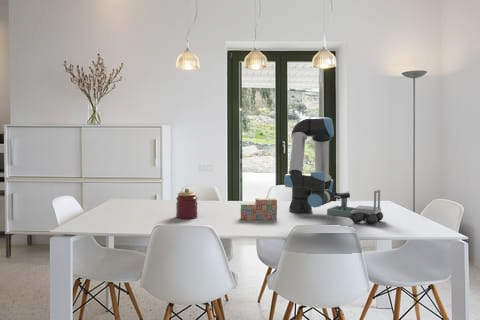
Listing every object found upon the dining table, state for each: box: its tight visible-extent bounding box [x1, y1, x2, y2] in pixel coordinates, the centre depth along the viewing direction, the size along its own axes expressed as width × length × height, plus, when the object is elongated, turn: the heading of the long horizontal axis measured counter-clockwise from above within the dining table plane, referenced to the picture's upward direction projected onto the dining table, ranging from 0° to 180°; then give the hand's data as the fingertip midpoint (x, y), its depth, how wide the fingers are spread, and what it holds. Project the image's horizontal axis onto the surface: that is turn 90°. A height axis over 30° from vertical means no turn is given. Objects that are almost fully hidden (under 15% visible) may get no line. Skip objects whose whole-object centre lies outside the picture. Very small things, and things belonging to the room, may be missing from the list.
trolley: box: [350, 189, 384, 226], centre depth 214 cm, size 14×15×19 cm
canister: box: [175, 187, 198, 220], centre depth 224 cm, size 13×13×18 cm
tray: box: [326, 205, 355, 218], centre depth 239 cm, size 16×16×3 cm
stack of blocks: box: [240, 197, 278, 221], centre depth 220 cm, size 21×6×12 cm, turn 93°
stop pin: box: [340, 198, 348, 211], centre depth 238 cm, size 5×5×12 cm
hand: (338, 192), depth 228 cm, fingers open, 13 cm apart
